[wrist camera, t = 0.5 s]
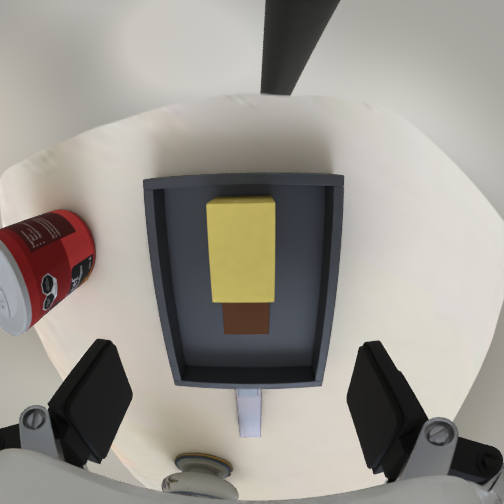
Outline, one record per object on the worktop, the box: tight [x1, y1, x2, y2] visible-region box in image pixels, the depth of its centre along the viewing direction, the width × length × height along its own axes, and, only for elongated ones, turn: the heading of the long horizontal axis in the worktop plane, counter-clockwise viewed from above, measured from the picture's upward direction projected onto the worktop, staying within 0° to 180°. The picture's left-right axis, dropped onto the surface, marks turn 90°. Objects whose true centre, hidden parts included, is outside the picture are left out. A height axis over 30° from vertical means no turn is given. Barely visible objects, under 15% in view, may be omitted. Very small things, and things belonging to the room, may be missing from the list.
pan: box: [143, 173, 344, 389], centre depth 23 cm, size 20×15×3 cm
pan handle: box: [236, 389, 261, 437], centre depth 28 cm, size 11×3×3 cm, turn 1°
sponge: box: [206, 195, 275, 302], centre depth 20 cm, size 7×4×4 cm, turn 1°
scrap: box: [222, 302, 269, 335], centre depth 24 cm, size 4×4×1 cm
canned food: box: [0, 210, 95, 336], centre depth 18 cm, size 8×8×11 cm
